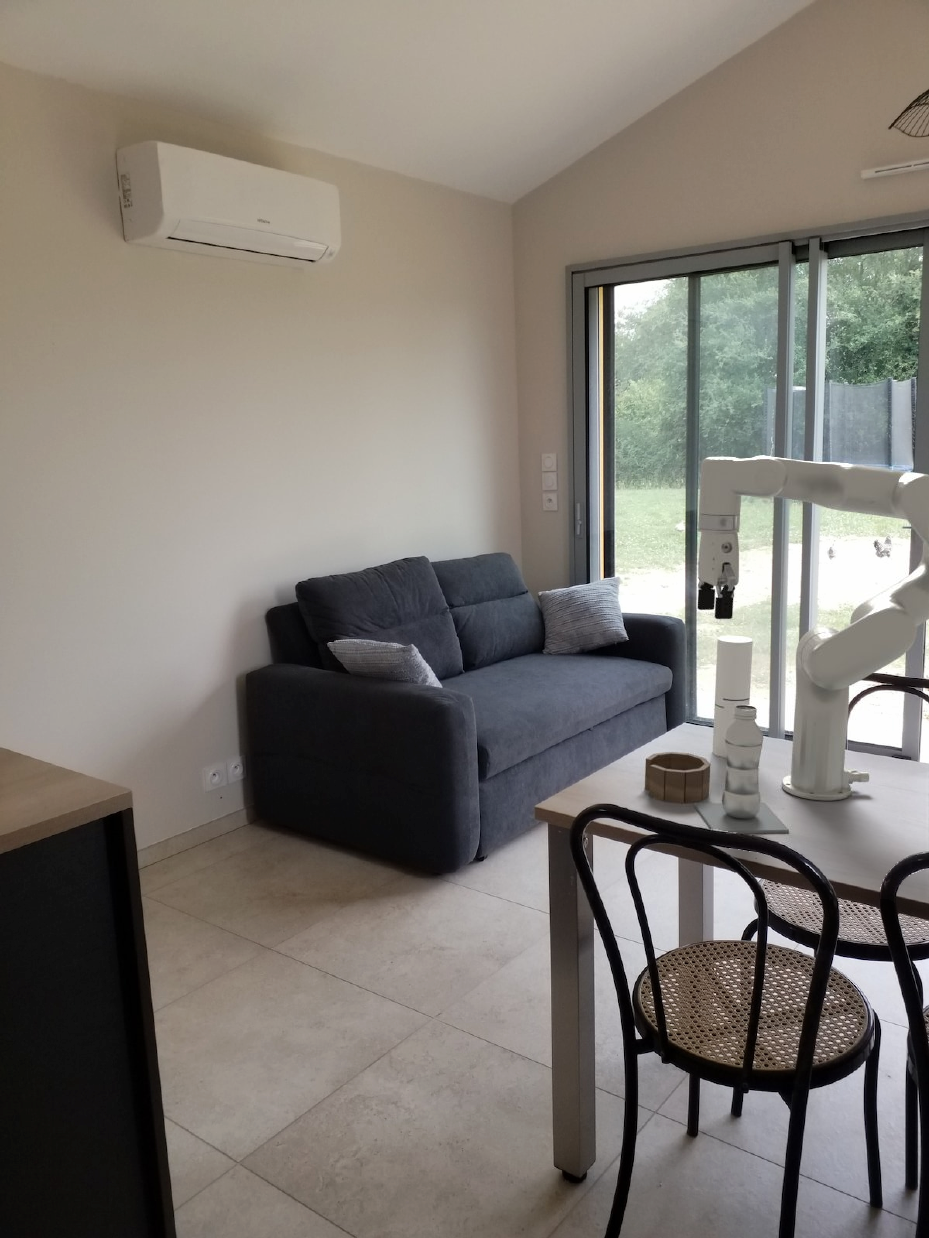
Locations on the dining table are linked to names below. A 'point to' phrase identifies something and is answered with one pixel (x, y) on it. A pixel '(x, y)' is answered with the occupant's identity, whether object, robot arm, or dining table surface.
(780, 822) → the rubber mat
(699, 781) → the ring holder
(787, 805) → the dining table surface
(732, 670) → the cylindrical container
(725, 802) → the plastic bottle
